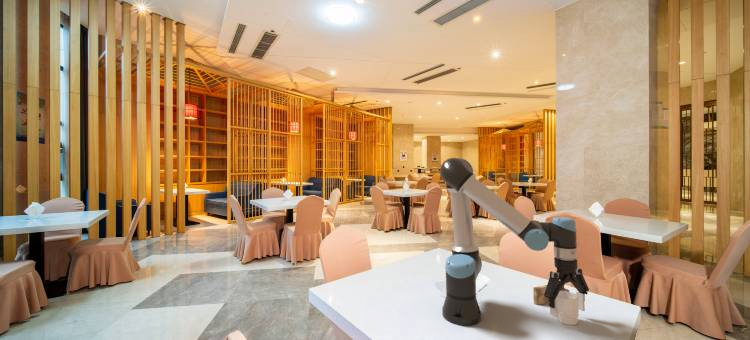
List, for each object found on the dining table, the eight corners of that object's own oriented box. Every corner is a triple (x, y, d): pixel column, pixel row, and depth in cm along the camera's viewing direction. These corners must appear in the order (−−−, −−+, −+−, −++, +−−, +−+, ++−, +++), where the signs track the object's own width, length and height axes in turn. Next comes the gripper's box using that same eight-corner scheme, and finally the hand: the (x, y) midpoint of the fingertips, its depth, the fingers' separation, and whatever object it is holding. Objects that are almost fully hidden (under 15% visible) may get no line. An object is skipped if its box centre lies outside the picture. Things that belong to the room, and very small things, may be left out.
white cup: (583, 326, 108) (582, 299, 108) (560, 325, 110) (559, 298, 110) (573, 316, 116) (573, 291, 116) (551, 314, 117) (551, 290, 117)
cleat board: (541, 307, 124) (541, 290, 124) (533, 303, 128) (533, 287, 128) (569, 301, 129) (569, 285, 129) (561, 297, 132) (561, 282, 132)
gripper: (549, 264, 105) (551, 323, 105) (598, 256, 113) (600, 311, 113) (532, 259, 113) (534, 313, 112) (579, 251, 120) (581, 303, 120)
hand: (567, 312), depth 113 cm, fingers open, 13 cm apart
